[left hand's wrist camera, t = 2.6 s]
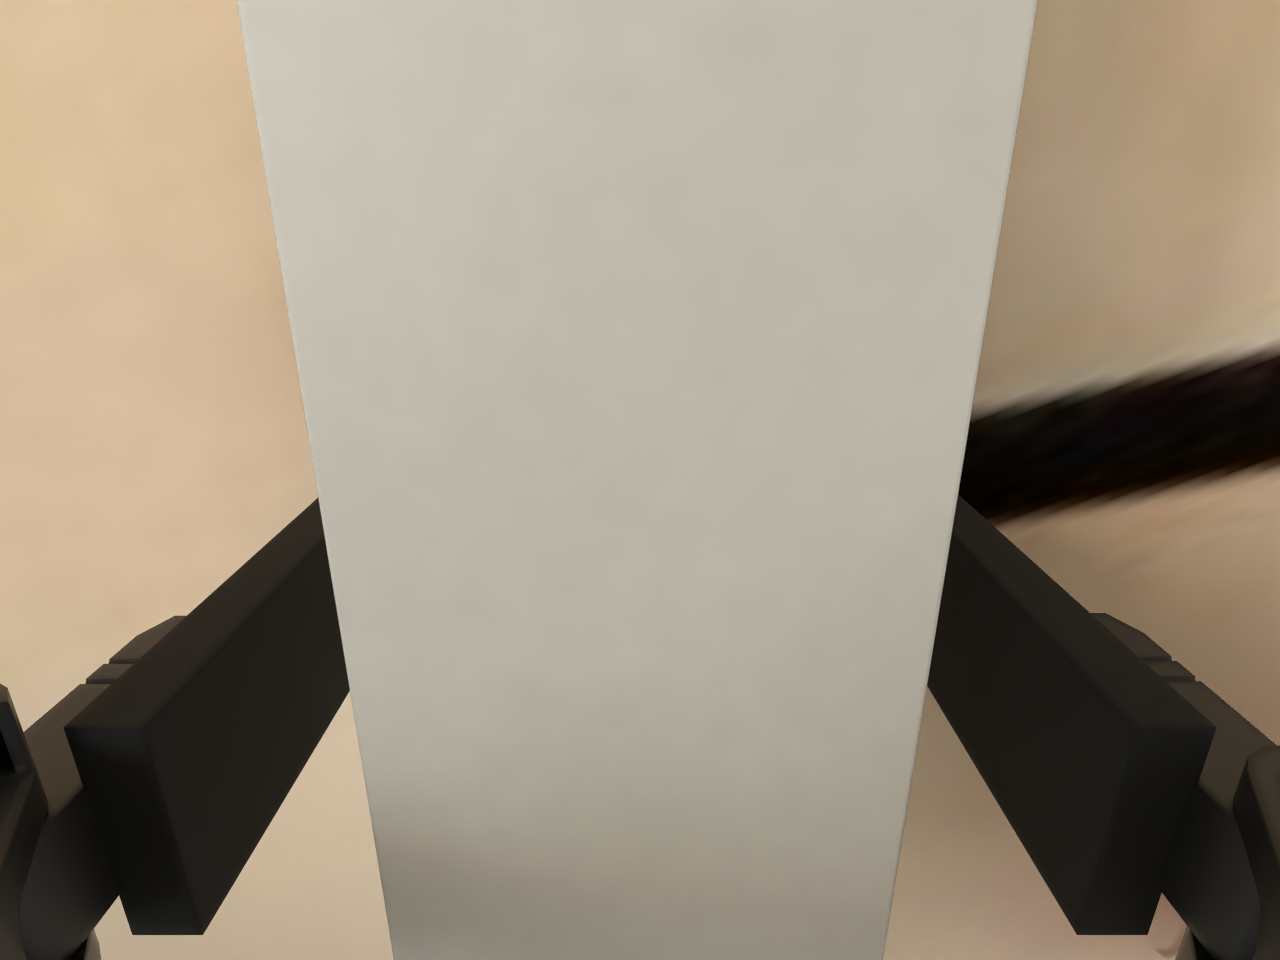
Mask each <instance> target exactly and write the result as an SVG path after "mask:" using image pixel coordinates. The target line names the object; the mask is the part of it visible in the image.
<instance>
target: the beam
mask: <svg viewBox="0 0 1280 960" xmlns="http://www.w3.org/2000/svg"><path fill="white" fill-rule="evenodd" d="M1037 2H1038V0H237V5H238V11H239V17H240V23H241V29H242V35H243V41H244V48H245V54H246V60H247V66H248V72H249V78H250V84H251V90H252V96H253V102H254V108H255V115H256V121H257V127H258V133H259V139H260V145H261V151H262V157H263V163H264V169H265V176H266V182H267V188H268V194H269V200H270V206H271V212H272V218H273V224H274V230H275V236H276V243H277V249H278V255H279V261H280V267H281V273H282V279H283V285H284V291H285V297H286V304H287V310H288V316H289V322H290V328H291V334H292V340H293V346H294V352H295V358H296V364H297V371H298V377H299V383H300V389H301V395H302V401H303V407H304V413H305V419H306V425H307V432H308V438H309V444H310V450H311V456H312V462H313V468H314V474H315V480H316V486H317V492H318V499H319V505H320V511H321V517H322V523H323V529H324V535H325V541H326V547H327V553H328V560H329V566H330V572H331V578H332V584H333V590H334V596H335V602H336V608H337V614H338V620H339V627H340V633H341V639H342V645H343V651H344V657H345V663H346V669H347V675H348V681H349V688H350V694H351V700H352V706H353V712H354V718H355V724H356V730H357V736H358V742H359V748H360V755H361V761H362V767H363V773H364V779H365V785H366V791H367V797H368V803H369V809H370V816H371V822H372V828H373V834H374V840H375V846H376V852H377V858H378V864H379V870H380V876H381V883H382V889H383V895H384V901H385V907H386V913H387V919H388V925H389V931H390V937H391V944H392V950H393V956H394V960H883V954H884V948H885V942H886V936H887V929H888V923H889V917H890V911H891V905H892V898H893V892H894V886H895V880H896V874H897V868H898V861H899V855H900V849H901V843H902V837H903V830H904V824H905V818H906V812H907V806H908V800H909V793H910V787H911V781H912V775H913V769H914V762H915V756H916V750H917V744H918V738H919V732H920V725H921V719H922V713H923V707H924V701H925V694H926V688H927V682H928V676H929V670H930V664H931V657H932V651H933V645H934V639H935V633H936V626H937V620H938V614H939V608H940V602H941V596H942V589H943V583H944V577H945V571H946V565H947V558H948V552H949V546H950V540H951V534H952V528H953V521H954V515H955V509H956V503H957V497H958V491H959V484H960V478H961V472H962V466H963V460H964V453H965V447H966V441H967V435H968V429H969V423H970V416H971V410H972V404H973V398H974V392H975V385H976V379H977V373H978V367H979V361H980V355H981V348H982V342H983V336H984V330H985V324H986V317H987V311H988V305H989V299H990V293H991V287H992V280H993V274H994V268H995V262H996V256H997V249H998V243H999V237H1000V231H1001V225H1002V219H1003V212H1004V206H1005V200H1006V194H1007V188H1008V181H1009V175H1010V169H1011V163H1012V157H1013V151H1014V144H1015V138H1016V132H1017V126H1018V120H1019V113H1020V107H1021V101H1022V95H1023V89H1024V83H1025V76H1026V70H1027V64H1028V58H1029V52H1030V45H1031V39H1032V33H1033V27H1034V21H1035V15H1036V8H1037Z"/></svg>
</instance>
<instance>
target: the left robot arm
mask: <svg viewBox="0 0 1280 960" xmlns="http://www.w3.org/2000/svg"><path fill="white" fill-rule="evenodd" d="M927 686H928V688H929V689H930V691H931V693H932V694H933V696H934V698H935V699H936V701H937V703H938V704H939V706H940V708H941V709H942V711H943V713H944V714H945V716H946V718H947V719H948V721H949V723H950V724H951V726H952V728H953V729H954V731H955V733H956V734H957V736H958V738H959V739H960V741H961V743H962V744H963V746H964V748H965V749H966V751H967V753H968V754H969V756H970V758H971V759H972V761H973V763H974V764H975V766H976V768H977V769H978V771H979V773H980V774H981V776H982V777H983V779H984V781H985V782H986V784H987V786H988V787H989V789H990V791H991V792H992V794H993V796H994V797H995V799H996V801H997V802H998V804H999V806H1000V807H1001V809H1002V811H1003V812H1004V814H1005V816H1006V817H1007V819H1008V821H1009V822H1010V824H1011V826H1012V827H1013V829H1014V831H1015V832H1016V834H1017V836H1018V837H1019V839H1020V841H1021V842H1022V844H1023V846H1024V847H1025V849H1026V851H1027V852H1028V854H1029V856H1030V857H1031V859H1032V861H1033V862H1034V864H1035V866H1036V867H1037V869H1038V871H1039V872H1040V874H1041V876H1042V877H1043V879H1044V881H1045V882H1046V884H1047V886H1048V887H1049V889H1050V891H1051V892H1052V894H1053V896H1054V897H1055V899H1056V901H1057V902H1058V904H1059V906H1060V907H1061V909H1062V911H1063V912H1064V914H1065V916H1066V917H1067V919H1068V921H1069V922H1070V924H1071V925H1072V927H1073V929H1074V930H1075V932H1076V934H1077V935H1148V932H1149V929H1150V926H1151V923H1152V920H1153V917H1154V914H1155V911H1156V908H1157V905H1158V902H1159V899H1160V896H1161V893H1163V894H1164V896H1165V897H1166V898H1167V899H1168V901H1169V902H1170V903H1171V905H1172V906H1173V907H1174V909H1175V910H1176V911H1177V913H1178V914H1179V915H1180V917H1181V918H1182V919H1183V920H1184V922H1185V923H1186V924H1187V929H1186V931H1185V934H1184V937H1183V940H1182V943H1181V945H1180V948H1179V951H1178V954H1177V956H1176V959H1175V960H1280V746H1277V745H1276V744H1274V743H1273V742H1272V741H1271V740H1270V739H1268V738H1267V737H1266V736H1265V735H1264V734H1263V733H1261V732H1260V731H1259V730H1258V729H1257V728H1255V727H1254V726H1253V725H1252V724H1251V723H1250V722H1248V721H1247V720H1246V719H1245V718H1244V717H1242V716H1241V715H1240V714H1239V713H1238V712H1236V711H1235V710H1234V709H1233V708H1232V707H1231V706H1229V705H1228V704H1227V703H1226V702H1225V701H1223V700H1222V699H1221V698H1220V697H1219V696H1218V695H1216V694H1215V693H1214V692H1213V691H1212V690H1210V689H1209V688H1208V687H1207V686H1206V685H1204V684H1203V683H1202V682H1201V681H1195V676H1194V675H1193V674H1191V673H1190V672H1189V671H1188V670H1187V669H1186V668H1184V667H1183V666H1182V665H1181V664H1180V663H1178V662H1177V661H1172V659H1171V656H1170V655H1169V654H1168V653H1167V652H1165V651H1164V650H1163V649H1162V648H1161V647H1159V646H1158V645H1157V644H1156V643H1155V642H1154V641H1152V640H1151V639H1150V638H1149V637H1148V636H1146V635H1145V634H1144V633H1142V632H1140V631H1139V630H1137V629H1135V628H1133V627H1131V626H1129V625H1127V624H1125V623H1123V622H1121V621H1119V620H1117V619H1116V618H1114V617H1112V616H1110V615H1108V614H1106V613H1089V612H1088V611H1087V610H1086V609H1085V608H1084V607H1083V606H1081V605H1080V604H1079V603H1078V602H1077V601H1076V600H1075V599H1074V598H1073V597H1071V596H1070V595H1069V594H1068V593H1067V592H1066V591H1065V590H1064V589H1063V588H1061V587H1060V586H1059V585H1058V584H1057V583H1056V582H1055V581H1054V580H1053V579H1051V578H1050V577H1049V576H1048V575H1047V574H1046V573H1045V572H1044V571H1043V570H1042V569H1040V568H1039V567H1038V566H1037V565H1036V564H1035V563H1034V562H1033V561H1032V560H1030V559H1029V558H1028V557H1027V556H1026V555H1025V554H1024V553H1023V552H1022V551H1020V550H1019V549H1018V548H1017V547H1016V546H1015V545H1014V544H1013V543H1012V542H1010V541H1009V540H1008V539H1007V538H1006V537H1005V536H1004V535H1003V534H1002V533H1000V532H999V531H998V530H997V529H996V528H995V527H994V526H993V525H992V524H990V523H989V522H988V521H987V520H986V519H985V518H984V517H983V516H982V515H980V514H979V513H978V512H977V511H976V510H975V509H974V508H973V507H972V506H970V505H969V504H968V503H967V502H966V501H965V500H964V499H963V498H962V497H960V496H959V495H958V497H957V503H956V509H955V515H954V521H953V528H952V534H951V540H950V546H949V552H948V558H947V565H946V571H945V577H944V583H943V589H942V596H941V602H940V608H939V614H938V620H937V626H936V633H935V639H934V645H933V651H932V657H931V664H930V670H929V676H928V682H927ZM349 691H350V688H349V681H348V675H347V669H346V663H345V657H344V651H343V645H342V639H341V633H340V627H339V620H338V614H337V608H336V602H335V596H334V590H333V584H332V578H331V572H330V566H329V560H328V553H327V547H326V541H325V535H324V529H323V523H322V517H321V511H320V505H319V499H318V498H317V499H316V500H315V501H314V502H313V503H312V504H311V505H310V506H308V507H307V508H306V509H305V510H304V511H303V512H302V513H301V514H300V515H298V516H297V517H296V518H295V519H294V520H293V521H292V522H291V523H290V524H288V525H287V526H286V527H285V528H284V529H283V530H282V531H281V532H280V533H278V534H277V535H276V536H275V537H274V538H273V539H272V540H271V541H270V542H268V543H267V544H266V545H265V546H264V547H263V548H262V549H261V550H260V551H258V552H257V553H256V554H255V555H254V556H253V557H252V558H251V559H250V560H248V561H247V562H246V563H245V564H244V565H243V566H242V567H241V568H240V569H238V570H237V571H236V572H235V573H234V574H233V575H232V576H231V577H230V578H228V579H227V580H226V581H225V582H224V583H223V584H222V585H221V586H220V587H218V588H217V589H216V590H215V591H214V592H213V593H212V594H211V595H210V596H208V597H207V598H206V599H205V600H204V601H203V602H202V603H201V604H200V605H198V606H197V607H196V608H195V609H194V610H193V611H192V612H191V613H190V614H189V615H187V616H174V617H172V618H170V619H168V620H166V621H164V622H162V623H161V624H159V625H157V626H155V627H153V628H151V629H149V630H147V631H145V632H143V633H141V634H140V635H138V636H136V637H135V638H134V639H133V640H132V641H130V642H129V643H128V644H127V645H126V646H124V647H123V648H122V649H121V650H120V651H119V652H117V653H116V654H115V655H114V656H113V657H112V658H110V659H109V664H103V665H102V666H101V667H100V668H99V669H97V670H96V671H95V672H94V673H93V674H92V675H90V676H89V677H88V678H87V679H86V684H80V685H79V686H77V687H76V688H75V689H74V690H73V691H72V692H70V693H69V694H68V695H67V696H66V697H65V698H63V699H62V700H61V701H60V702H59V703H57V704H56V705H55V706H54V707H53V708H52V709H50V710H49V711H48V712H47V713H46V714H45V715H43V716H42V717H41V718H40V719H39V720H37V721H36V722H35V723H34V724H33V725H32V726H30V727H29V728H28V729H27V730H26V731H25V732H23V730H22V727H21V725H20V722H19V719H18V716H17V713H16V711H15V708H14V705H13V702H12V700H11V697H10V694H9V691H8V688H7V687H5V686H3V685H2V684H0V960H101V955H100V948H99V943H98V940H97V937H96V934H95V931H94V927H95V926H96V925H97V923H98V922H99V921H100V919H101V918H102V917H103V915H104V914H105V913H106V912H107V910H108V909H109V908H110V906H111V905H112V904H113V902H114V901H115V900H116V898H117V897H118V896H120V899H121V902H122V905H123V908H124V911H125V914H126V917H127V920H128V923H129V926H130V929H131V932H132V935H203V934H204V932H205V930H206V929H207V927H208V925H209V924H210V922H211V920H212V919H213V917H214V915H215V914H216V912H217V910H218V909H219V907H220V906H221V904H222V902H223V901H224V899H225V897H226V896H227V894H228V892H229V891H230V889H231V887H232V886H233V884H234V882H235V881H236V879H237V877H238V876H239V874H240V872H241V871H242V869H243V867H244V866H245V864H246V862H247V861H248V859H249V857H250V856H251V854H252V852H253V851H254V849H255V847H256V846H257V844H258V842H259V841H260V839H261V837H262V836H263V834H264V832H265V831H266V829H267V827H268V826H269V824H270V822H271V821H272V819H273V817H274V816H275V814H276V812H277V811H278V809H279V807H280V806H281V804H282V802H283V801H284V799H285V797H286V796H287V794H288V792H289V791H290V789H291V787H292V786H293V784H294V782H295V781H296V779H297V777H298V776H299V774H300V772H301V771H302V769H303V767H304V766H305V764H306V763H307V761H308V759H309V758H310V756H311V754H312V753H313V751H314V749H315V748H316V746H317V744H318V743H319V741H320V739H321V738H322V736H323V734H324V733H325V731H326V729H327V728H328V726H329V724H330V723H331V721H332V719H333V718H334V716H335V714H336V713H337V711H338V709H339V708H340V706H341V704H342V703H343V701H344V699H345V698H346V696H347V694H348V693H349Z"/></svg>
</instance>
